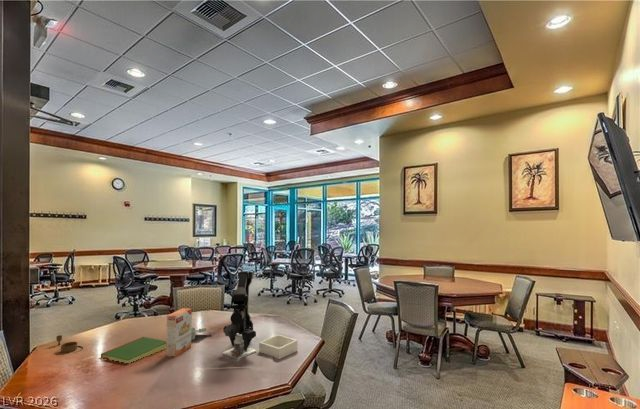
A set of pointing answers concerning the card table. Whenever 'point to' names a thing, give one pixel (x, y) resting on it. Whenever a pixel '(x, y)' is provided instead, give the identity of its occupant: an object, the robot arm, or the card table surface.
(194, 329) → the metal bracket
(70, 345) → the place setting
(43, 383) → the card table surface
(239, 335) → the pill bottle
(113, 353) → the hardcover book
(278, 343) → the bin
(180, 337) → the cracker box
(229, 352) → the socket block
